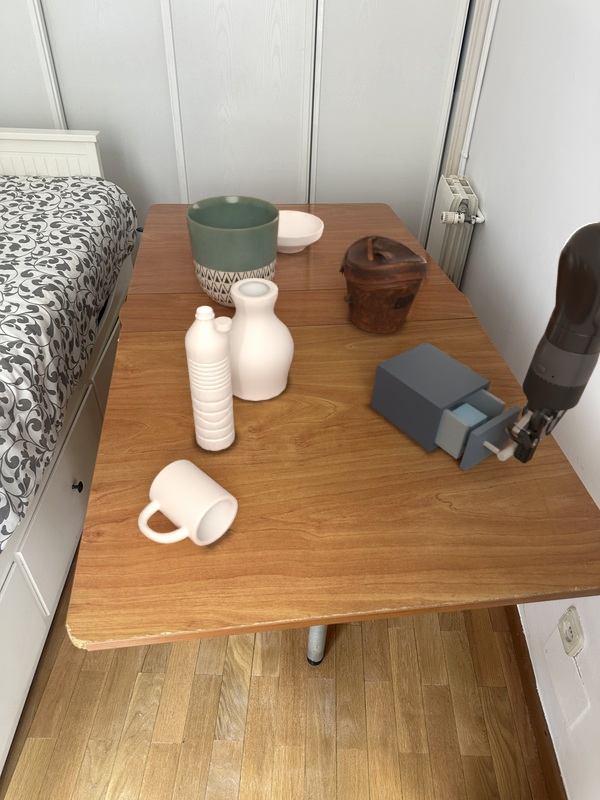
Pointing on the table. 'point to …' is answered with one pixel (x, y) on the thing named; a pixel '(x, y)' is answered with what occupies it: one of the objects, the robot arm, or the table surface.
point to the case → (381, 282)
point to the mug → (188, 505)
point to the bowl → (297, 230)
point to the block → (470, 418)
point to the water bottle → (210, 379)
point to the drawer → (478, 430)
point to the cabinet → (422, 390)
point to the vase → (258, 342)
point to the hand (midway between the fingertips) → (522, 458)
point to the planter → (232, 242)
